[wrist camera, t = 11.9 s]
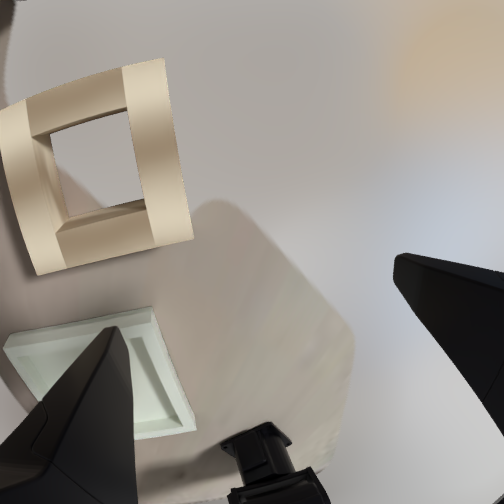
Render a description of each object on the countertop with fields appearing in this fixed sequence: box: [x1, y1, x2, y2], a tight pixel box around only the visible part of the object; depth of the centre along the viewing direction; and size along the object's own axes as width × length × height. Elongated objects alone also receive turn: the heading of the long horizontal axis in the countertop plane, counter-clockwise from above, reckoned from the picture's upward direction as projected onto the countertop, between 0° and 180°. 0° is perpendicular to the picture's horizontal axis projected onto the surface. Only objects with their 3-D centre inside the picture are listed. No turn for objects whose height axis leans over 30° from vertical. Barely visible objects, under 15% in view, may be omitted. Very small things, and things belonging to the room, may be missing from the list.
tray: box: [3, 306, 197, 440], centre depth 22 cm, size 13×13×2 cm
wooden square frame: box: [0, 58, 194, 276], centre depth 16 cm, size 10×10×3 cm
